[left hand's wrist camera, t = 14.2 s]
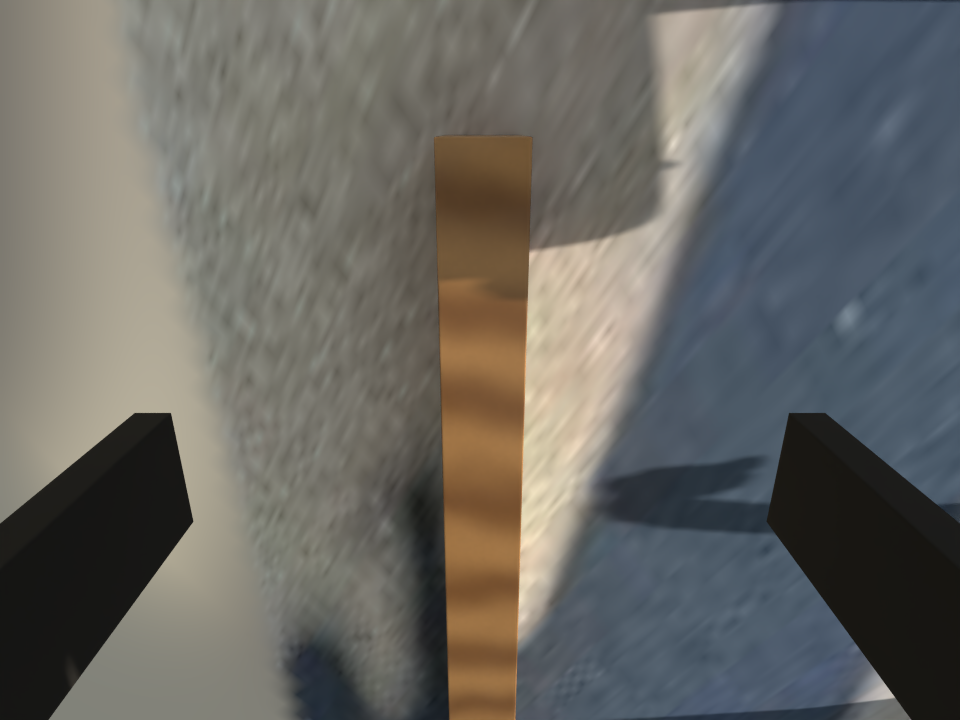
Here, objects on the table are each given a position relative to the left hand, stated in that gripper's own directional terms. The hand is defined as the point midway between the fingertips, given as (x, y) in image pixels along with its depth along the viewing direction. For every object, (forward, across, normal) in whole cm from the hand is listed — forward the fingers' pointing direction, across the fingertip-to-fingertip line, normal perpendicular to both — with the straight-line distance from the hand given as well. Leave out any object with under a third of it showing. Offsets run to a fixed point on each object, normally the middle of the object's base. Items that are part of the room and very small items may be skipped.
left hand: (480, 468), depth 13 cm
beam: (+31, 0, -29) cm, 42 cm away
